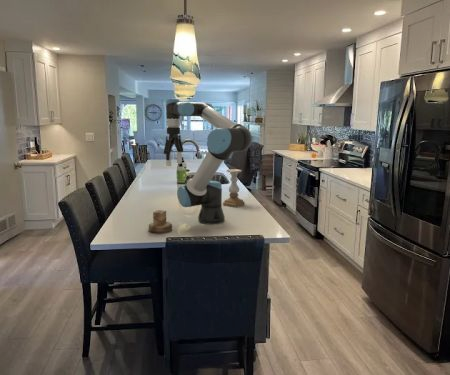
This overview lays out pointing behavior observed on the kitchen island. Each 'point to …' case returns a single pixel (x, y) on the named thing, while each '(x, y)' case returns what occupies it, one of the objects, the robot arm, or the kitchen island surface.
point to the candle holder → (233, 190)
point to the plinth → (160, 228)
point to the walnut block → (159, 218)
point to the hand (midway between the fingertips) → (174, 164)
